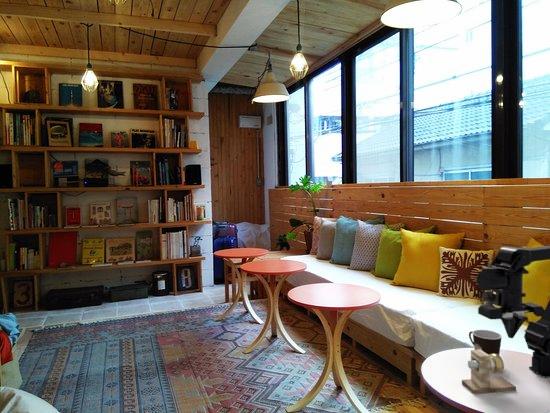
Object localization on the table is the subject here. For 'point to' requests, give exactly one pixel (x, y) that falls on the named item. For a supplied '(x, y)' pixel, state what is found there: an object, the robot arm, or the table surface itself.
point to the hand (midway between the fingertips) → (510, 337)
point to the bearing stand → (485, 377)
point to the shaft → (495, 364)
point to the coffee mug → (486, 341)
